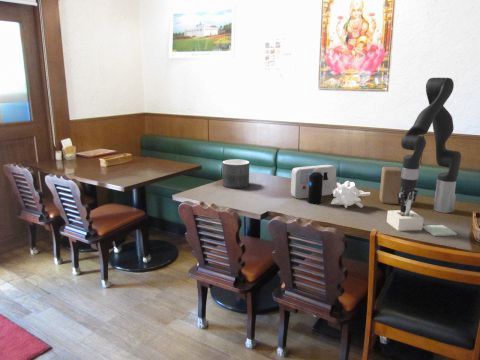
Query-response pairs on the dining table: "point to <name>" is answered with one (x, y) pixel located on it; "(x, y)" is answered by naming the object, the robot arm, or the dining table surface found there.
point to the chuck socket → (404, 220)
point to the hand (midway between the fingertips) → (405, 211)
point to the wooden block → (390, 185)
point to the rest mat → (439, 230)
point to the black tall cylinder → (315, 187)
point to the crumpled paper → (347, 194)
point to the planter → (235, 173)
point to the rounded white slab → (302, 180)
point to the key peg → (407, 206)
